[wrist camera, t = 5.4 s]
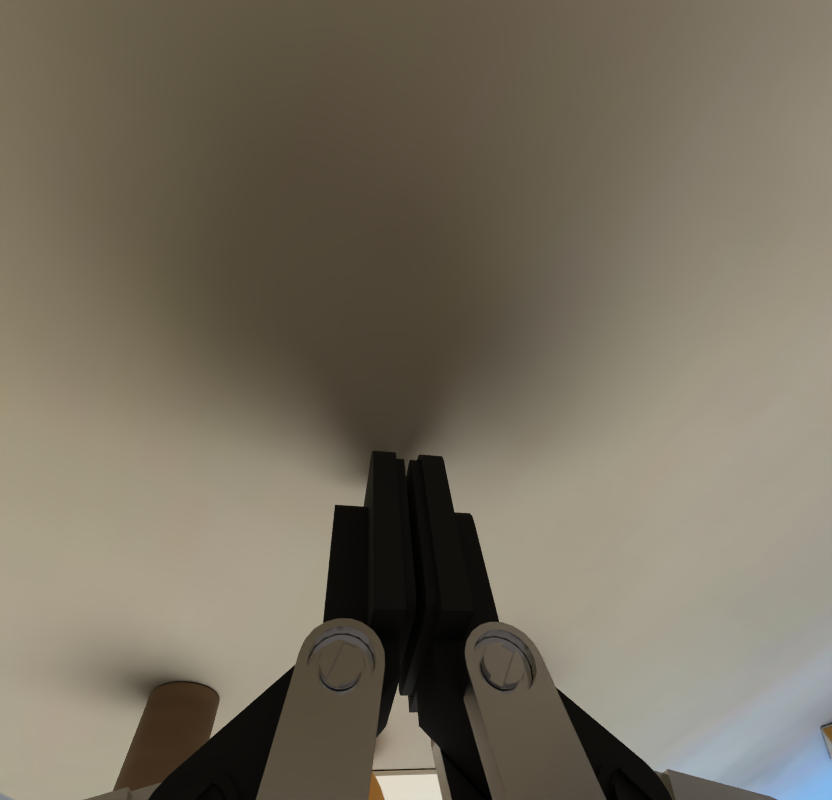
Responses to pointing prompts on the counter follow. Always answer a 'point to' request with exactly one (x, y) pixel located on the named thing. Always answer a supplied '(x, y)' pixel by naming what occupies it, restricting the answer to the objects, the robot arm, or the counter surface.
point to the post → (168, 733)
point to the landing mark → (409, 784)
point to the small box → (828, 737)
